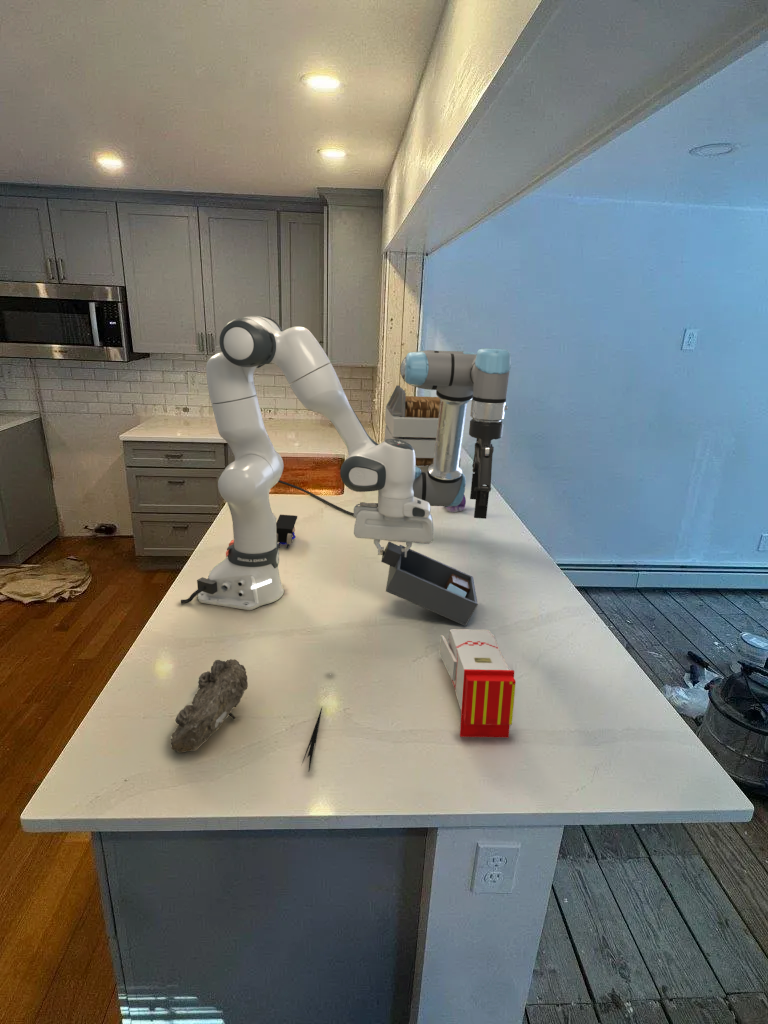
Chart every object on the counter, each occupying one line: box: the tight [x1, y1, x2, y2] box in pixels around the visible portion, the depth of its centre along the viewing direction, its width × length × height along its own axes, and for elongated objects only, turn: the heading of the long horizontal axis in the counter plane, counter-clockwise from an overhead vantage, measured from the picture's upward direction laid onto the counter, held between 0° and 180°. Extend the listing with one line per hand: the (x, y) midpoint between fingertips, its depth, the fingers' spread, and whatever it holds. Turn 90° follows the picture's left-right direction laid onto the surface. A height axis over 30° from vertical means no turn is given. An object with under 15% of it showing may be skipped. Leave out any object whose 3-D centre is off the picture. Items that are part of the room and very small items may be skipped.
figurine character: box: [276, 514, 298, 549], centre depth 187 cm, size 7×8×15 cm
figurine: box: [444, 494, 467, 513], centre depth 225 cm, size 9×10×15 cm
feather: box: [301, 673, 332, 771], centre depth 108 cm, size 2×28×2 cm
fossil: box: [170, 658, 249, 753], centre depth 106 cm, size 22×10×15 cm
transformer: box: [383, 384, 462, 468], centre depth 268 cm, size 34×33×41 cm
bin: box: [380, 541, 478, 627], centre depth 147 cm, size 26×16×8 cm, turn 86°
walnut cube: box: [444, 574, 470, 597], centre depth 152 cm, size 5×5×5 cm
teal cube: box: [447, 583, 467, 597], centre depth 145 cm, size 5×5×5 cm
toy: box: [438, 628, 517, 738], centre depth 117 cm, size 12×13×30 cm
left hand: (392, 555), depth 146 cm, fingers closed on bin, 4 cm apart
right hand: (477, 508), depth 136 cm, fingers open, 13 cm apart
